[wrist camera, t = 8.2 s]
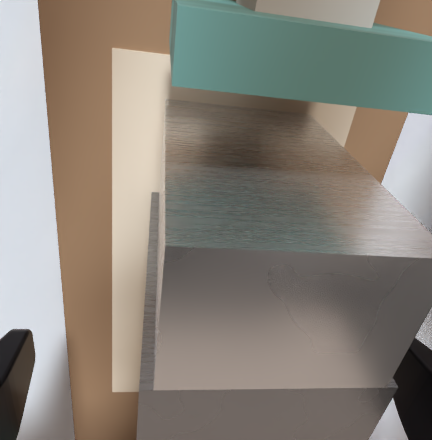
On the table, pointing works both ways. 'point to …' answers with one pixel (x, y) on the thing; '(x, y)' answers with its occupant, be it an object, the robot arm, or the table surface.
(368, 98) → the shaft coupling stand
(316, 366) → the block
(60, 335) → the table surface
